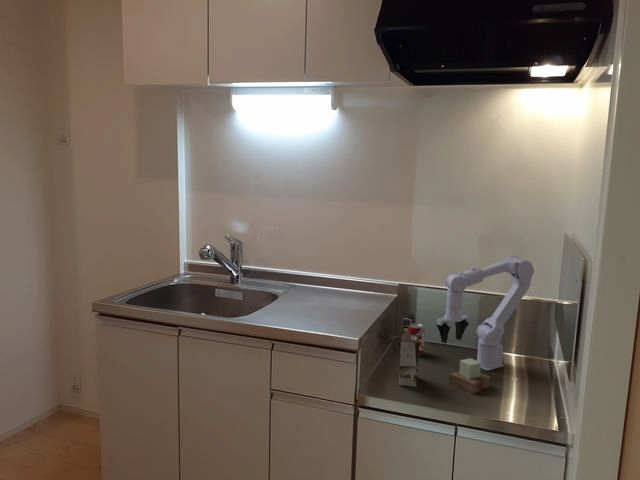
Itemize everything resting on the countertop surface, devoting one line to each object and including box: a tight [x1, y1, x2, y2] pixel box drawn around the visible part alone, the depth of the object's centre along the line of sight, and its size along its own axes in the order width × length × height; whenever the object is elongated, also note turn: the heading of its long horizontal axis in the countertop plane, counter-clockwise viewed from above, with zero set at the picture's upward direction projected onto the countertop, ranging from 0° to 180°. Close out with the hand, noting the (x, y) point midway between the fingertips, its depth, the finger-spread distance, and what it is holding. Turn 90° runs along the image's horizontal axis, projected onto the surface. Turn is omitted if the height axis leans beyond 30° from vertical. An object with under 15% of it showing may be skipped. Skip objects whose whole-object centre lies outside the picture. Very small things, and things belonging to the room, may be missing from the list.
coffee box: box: [398, 333, 420, 388], centre depth 188 cm, size 9×6×16 cm
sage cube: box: [458, 357, 482, 379], centre depth 186 cm, size 5×5×5 cm
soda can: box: [407, 322, 426, 356], centre depth 214 cm, size 7×7×12 cm
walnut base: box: [448, 370, 492, 395], centre depth 186 cm, size 10×10×4 cm
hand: (451, 340), depth 201 cm, fingers open, 7 cm apart
